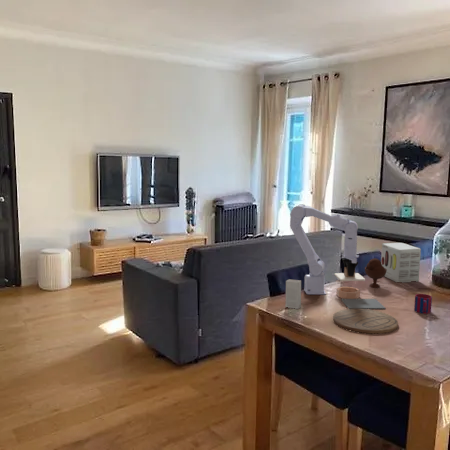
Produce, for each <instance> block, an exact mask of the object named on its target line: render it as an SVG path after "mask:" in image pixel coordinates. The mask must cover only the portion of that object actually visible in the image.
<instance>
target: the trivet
mask: <svg viewBox="0 0 450 450" xmlns="http://www.w3.org/2000/svg"><path fill="white" fill-rule="evenodd" d="M332 317H333V318H332V321H333V322H334V324H335V326H337V325H338V327H339V326H340V327H339V328H341V327H342V329H343V328H344V329H343V330H346V329H347V330H346V331H349V330H351V331H350V332H352V331H355V332H354V333H357V332H359V333H358V334H364V333H366V335H385V334H390V333H392V332H395V331H396V330H397V329H398V328H399V321H398V319H397V318H396V317H394V316H393V315H391V314H389V313H386V312H382V311H378V310H376V309H348V308H346V309H340V310H338V311H335V312H334V314H333V316H332Z"/></svg>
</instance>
